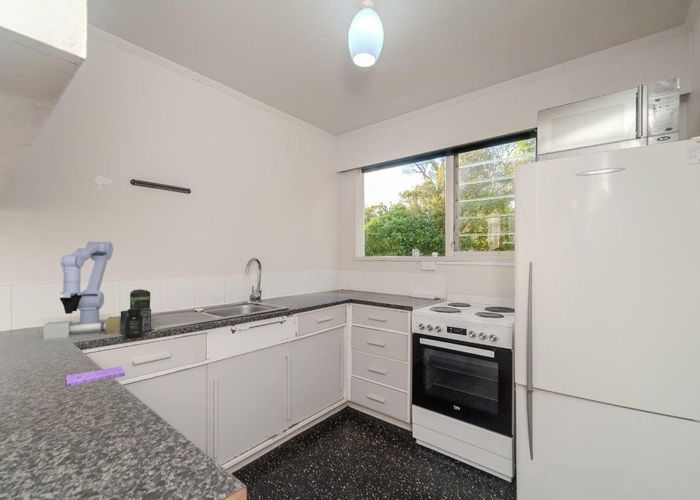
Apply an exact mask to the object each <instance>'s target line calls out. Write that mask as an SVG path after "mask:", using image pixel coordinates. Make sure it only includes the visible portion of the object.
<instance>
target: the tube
mask: <svg viewBox="0 0 700 500" xmlns="http://www.w3.org/2000/svg"><path fill="white" fill-rule="evenodd" d="M95 331H101V332H104V331H106V321H101V322H99V323H94V324H81V325H80V324H73V325H69V333H72V334H74V333H83V332H95Z"/></svg>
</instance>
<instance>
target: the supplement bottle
mask: <svg viewBox="0 0 700 500" xmlns="http://www.w3.org/2000/svg"><path fill="white" fill-rule="evenodd" d="M127 310H128V315H127V316H126V317H125V331H124V335H123V336H124V338H125V339H138V338H142V337H143V336H144V333H145V332H144V316H143V315H142V314H141V308H132V309H130V308H128V309H127ZM143 332H144V333H143Z"/></svg>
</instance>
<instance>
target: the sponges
mask: <svg viewBox="0 0 700 500" xmlns="http://www.w3.org/2000/svg"><path fill="white" fill-rule="evenodd" d="M109 375H110V376H111V377H113V379H117V378H122V377H125V376H126V371H125V370H124V368H123V367H122V366H114V367H110V368H104V369H99V370H93V371H86V372H80V373H73V374H68V375H66V386H67V387H66V388H69V387H68V386H72V385H76V384H82V383H87V382H91V381H96V380H100V379H106V378H110V376H109Z"/></svg>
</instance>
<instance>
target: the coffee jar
mask: <svg viewBox="0 0 700 500" xmlns="http://www.w3.org/2000/svg"><path fill="white" fill-rule="evenodd" d="M129 301H130V302H129V309H132V308H141V309H144V308H147V309H151V291H149V290H147V289H146V290H145V289H134V290H132V291H131V292H130V293H129Z"/></svg>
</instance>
